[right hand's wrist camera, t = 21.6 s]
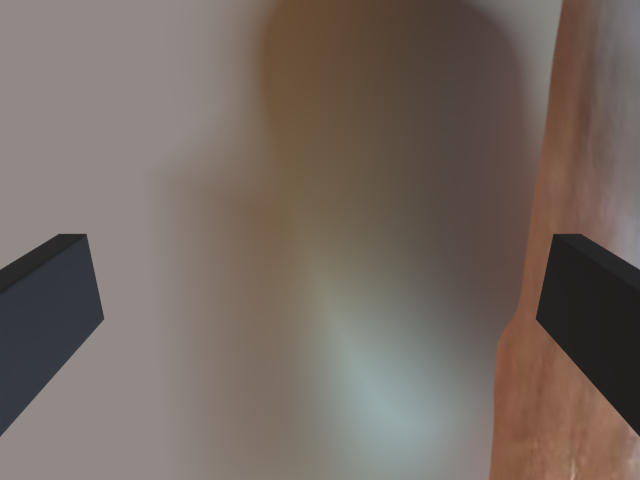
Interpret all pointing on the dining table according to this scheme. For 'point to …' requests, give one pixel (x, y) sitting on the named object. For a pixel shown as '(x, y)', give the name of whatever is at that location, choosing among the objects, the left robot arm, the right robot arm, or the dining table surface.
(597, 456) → the dining table surface
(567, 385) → the dining table surface
